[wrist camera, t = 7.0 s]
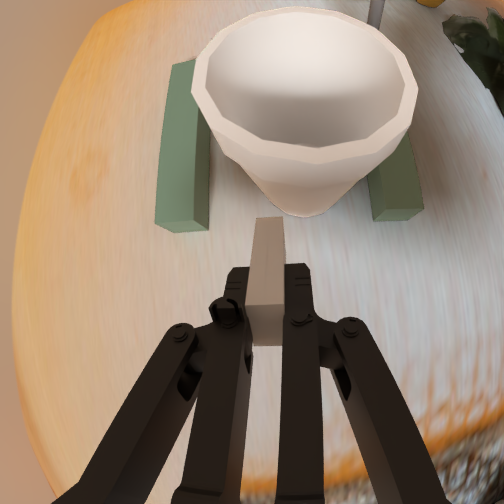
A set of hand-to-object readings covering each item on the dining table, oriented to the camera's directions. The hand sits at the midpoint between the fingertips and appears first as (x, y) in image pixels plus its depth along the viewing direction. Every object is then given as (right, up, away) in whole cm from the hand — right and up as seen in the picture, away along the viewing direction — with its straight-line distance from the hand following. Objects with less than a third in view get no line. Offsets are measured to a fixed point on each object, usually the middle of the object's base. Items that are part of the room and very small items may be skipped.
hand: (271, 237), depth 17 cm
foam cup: (+3, +5, +6) cm, 8 cm away
